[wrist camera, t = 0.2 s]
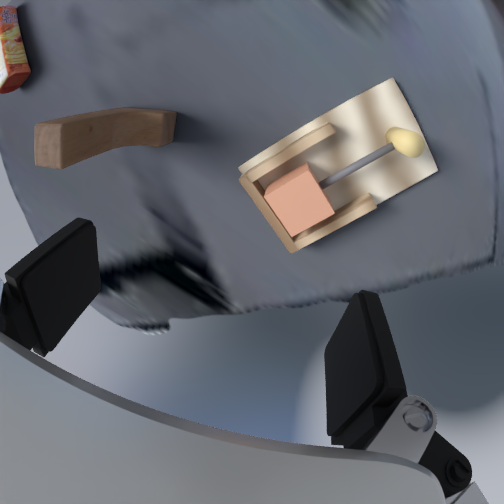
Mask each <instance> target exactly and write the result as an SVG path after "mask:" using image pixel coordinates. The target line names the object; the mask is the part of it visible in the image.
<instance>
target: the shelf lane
mask: <svg viewBox="0 0 504 504" xmlns="http://www.w3.org/2000/svg"><path fill="white" fill-rule="evenodd" d="M391 127H399V128H403V129H406V130H410V131H413V132H416V133H418V134H420V135H421V136H422V138H423V140H424V144H425V147H424V151H423V153H422V154H421V155H420V156H419V157H417V158H410V157H408V156H406V155H404V154H402V153H400V152H398V151H397V150H393V151H391V152H389V153H387V154H386V155H384V156H382V157H380V158H378V159H377V160H375V161H373V162H371V163H369V164H368V165H366V166H364V167H362V168H360V169H359V170H357V171H355V172H353V173H351V174H350V175H348V176H346V177H344V178H342V179H341V180H339V181H337V182H335V183H334V184H332V185H330V186H328V187H327V188H325V189H324V190H325V192H326V193H327V195H328V197H329V198H330V200H331V203H332V206H333V209H334V212H335V214H333V215H331V216H329V217H328V218H326V219H324V220H322V221H320V222H318V223H317V224H315V225H313V226H311V227H309V228H307V229H306V230H304V231H302V232H300V233H298V234H296V235H295V236H293V237H291V235H290V234H289V233H288V231H287V230H286V228H285V227H284V225H283V224H282V222H281V221H280V219H279V218H278V216H277V215H276V214H275V212H274V211H273V209H272V208H271V206H270V205H269V203H268V202H267V201H266V199H265V198H264V195H265V192H266V189H267V185H269V184H270V183H272V182H273V181H275V180H277V179H278V178H280V177H282V176H283V175H285V174H287V173H288V172H290V171H292V170H293V169H295V168H297V167H298V166H300V165H302V164H303V163H305V162H307V163H308V164H309V166H310V168H311V169H312V171H313V172H314V174H315V175H316V177H317V179H318V180H319V182H320V181H322V180H324V179H326V178H327V177H329V176H331V175H333V174H334V173H336V172H338V171H340V170H341V169H343V168H345V167H347V166H349V165H350V164H352V163H354V162H356V161H357V160H359V159H361V158H363V157H365V156H366V155H368V154H370V153H372V152H374V151H376V150H377V149H379V148H381V147H383V146H385V145H386V144H387V143H386V139H385V135H386V132H387V130H388V129H389V128H391ZM238 169H239V170H240V171H241V173H242V175H241V177H240V178H239V181H240V183H241V184H242V186H243V187H244V188H245V190H246V191H247V193H248V194H249V195H250V197H251V198H252V199H253V201H254V202H255V204H256V205H257V206H258V208H259V209H260V211H261V212H262V213H263V215H264V216H265V218H266V219H267V221H268V222H269V223H270V225H271V226H272V228H273V229H274V230H275V232H276V233H277V235H278V236H279V238H280V239H281V240H282V242H283V243H284V245H285V246H286V248H287V249H288V251H289V252H290V253H291V254H292V253H294V252H296V251H297V250H299V249H301V248H303V247H305V246H307V245H309V244H311V243H313V242H314V241H316V240H318V239H320V238H322V237H324V236H326V235H328V234H329V233H331V232H333V231H335V230H337V229H339V228H341V227H342V226H344V225H346V224H348V223H350V222H352V221H354V220H355V219H357V218H359V217H361V216H363V215H365V214H366V213H368V212H370V211H372V210H374V209H376V208H377V206H376V205H377V204H379V203H381V202H383V201H385V200H386V199H388V198H390V197H392V196H394V195H395V194H397V193H399V192H401V191H403V190H404V189H406V188H408V187H410V186H412V185H413V184H415V183H417V182H419V181H420V180H422V179H424V178H426V177H428V176H429V175H431V174H433V173H435V172H436V171H438V169H437V167H436V164H435V162H434V159H433V157H432V154H431V152H430V150H429V147H428V145H427V143H426V140H425V138H424V136H423V134H422V132H421V129H420V127H419V125H418V123H417V121H416V119H415V117H414V115H413V113H412V111H411V109H410V107H409V105H408V104H407V102H406V100H405V98H404V96H403V94H402V93H401V91H400V89H399V87H398V86H397V84H396V82H395V80H394V79H393V78H391V79H389V80H387V81H385V82H383V83H381V84H379V85H377V86H375V87H373V88H371V89H369V90H367V91H365V92H363V93H361V94H359V95H357V96H356V97H354V98H352V99H350V100H348V101H346V102H344V103H343V104H341V105H339V106H337V107H335V108H334V109H332V110H330V111H328V112H327V113H325V114H323V115H321V116H320V117H318V118H316V119H314V120H313V121H311V122H309V123H308V124H306V125H304V126H303V127H301V128H299V129H298V130H296V131H294V132H293V133H291V134H289V135H288V136H286V137H284V138H283V139H281V140H280V141H278V142H276V143H275V144H273V145H272V146H270V147H268V148H267V149H265V150H264V151H262V152H261V153H259V154H258V155H256V156H254V157H253V158H251V159H250V160H248V161H247V162H245V163H244V164H242V165H241V166H239V167H238Z"/></svg>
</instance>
